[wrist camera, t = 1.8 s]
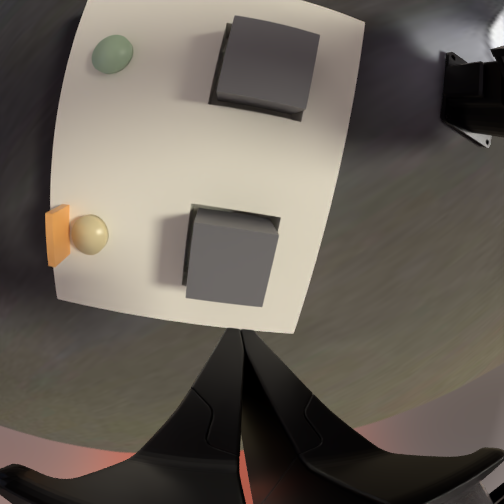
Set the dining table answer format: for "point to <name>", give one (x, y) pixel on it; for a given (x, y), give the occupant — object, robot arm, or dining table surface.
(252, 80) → the block
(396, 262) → the dining table surface
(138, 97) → the panel
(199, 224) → the grey square block
